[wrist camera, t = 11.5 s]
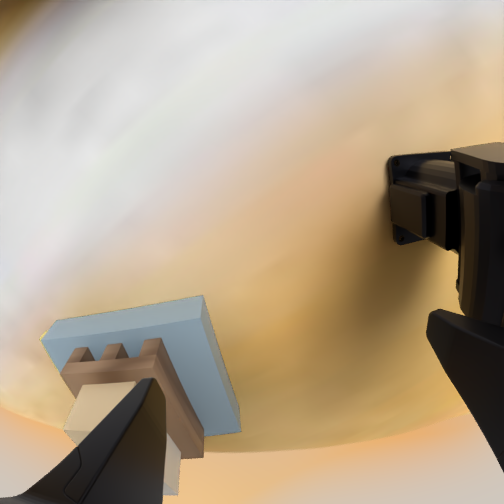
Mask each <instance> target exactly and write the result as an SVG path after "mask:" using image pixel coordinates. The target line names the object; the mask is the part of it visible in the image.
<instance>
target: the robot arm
mask: <svg viewBox="0 0 504 504" xmlns="http://www.w3.org/2000/svg"><path fill="white" fill-rule="evenodd" d="M450 156H451V160H450ZM395 160H397V165H396V166H395V165H394V161H395ZM388 165H389V175H390V187H389V192H390V206H391V221H392V222H393V239H394V241H395V243H397V244H399V245H404V244H408V243H412V242H416V241H420V240H424V239H427V240H429V241H430V242H432V243H434V244H436V245H438V246H440V247H441V248H443V249H445V250H447V251H449V250H451V251H452V252H454V253H456V254H458V255H459V261H458V279H457V280H456V289H457V291H458V293H459V297H458V300H459V304H460V309H461V310H462V312H463V313H464V314H465V316H463V315H460V314H456V313H453V312H449V311H446V310H443V309H437V310H435V311H432V312H431V313H430V314H429V317H428V324H427V330H426V335H427V338H428V340H429V342H430V344H431V346H432V348H433V350H434V352H435V353H436V355H437V357H438V359H439V361H440V363H441V365H442V367H443V369H444V370H445V372H446V374H447V375H448V377H449V379H450V380H451V382H452V383H453V385H454V386H455V388H456V389H457V391H458V393H459V394H460V396H461V397H462V399H463V400H464V402H465V404H466V405H467V407H468V409H469V410H470V412H471V414H472V415H473V417H474V418H475V420H476V422H477V424H478V425H479V427H480V429H481V431H482V432H483V434H484V436H485V438H486V440H487V441H488V443H489V445H490V447H491V448H492V451H493V452H494V454H495V456H496V458H498V459H497V460H498V462H499V464H500V466H501V468H502V470H503V472H504V143H501V142H495V143H488V144H481V145H474V146H468V147H462V148H456V149H451V151H442V152H428V153H415V154H404V155H394V156H391V157H390V158H389V160H388ZM401 235H402V238H401V239H400V240H399V237H400V236H401ZM166 445H167V428H166V398H165V395H164V393H163V391H162V389H161V387H160V385H159V383H158V381H157V380H156V378H154V377H149V378H143V379H141V380H140V381H139V382H138V383H137V384H136V385H135V386H134V387H133V388H132V390H131V391H130V392H129V393H128V394H127V395H126V396H125V397H124V398H123V399H122V400H121V401H120V402H119V403H118V404H117V405H116V406H115V407H114V408H113V409H112V410H111V411H110V412H109V413H108V414H107V416H106V417H105V418H104V419H103V420H102V421H101V422H100V423H99V424H98V425H97V426H96V427H95V428H94V429H93V430H92V431H91V432H90V433H89V434H88V435H87V436H86V437H85V438H84V439H83V440H82V441H81V442H80V443H79V444H78V447H76V448H75V449H73V451H72V452H71V453H70V454H69V455H68V456H67V457H65V459H63V460H62V461H61V462H60V463H59V464H58V465H57V466H56V467H55V468H53V469H52V470H51V471H50V472H49V473H48V474H46V475H45V476H44V477H43V478H42V479H40V480H39V481H38V482H37V483H36V484H34V485H33V486H32V487H31V488H29V489H28V490H27V491H25V492H24V493H22V494H20V495H17V496H14V497H6V498H0V504H162V501H163V484H164V470H165V458H166Z"/></svg>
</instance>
